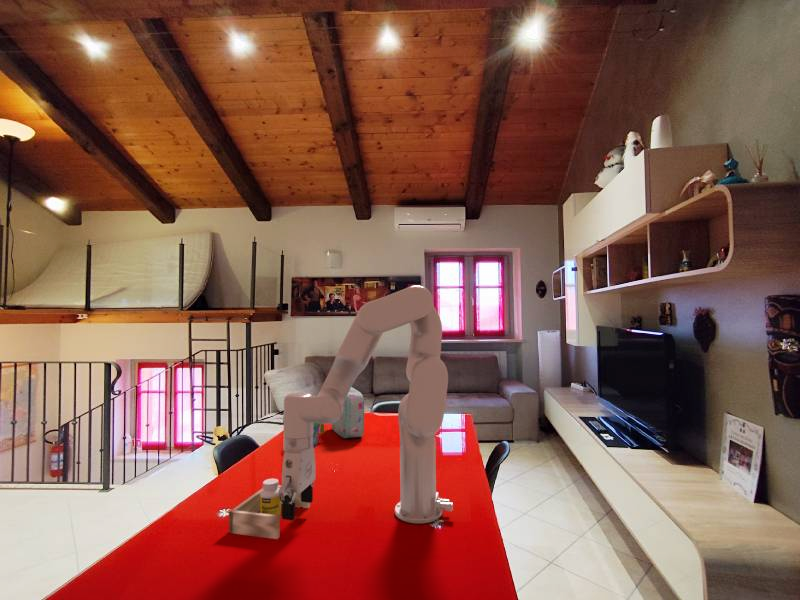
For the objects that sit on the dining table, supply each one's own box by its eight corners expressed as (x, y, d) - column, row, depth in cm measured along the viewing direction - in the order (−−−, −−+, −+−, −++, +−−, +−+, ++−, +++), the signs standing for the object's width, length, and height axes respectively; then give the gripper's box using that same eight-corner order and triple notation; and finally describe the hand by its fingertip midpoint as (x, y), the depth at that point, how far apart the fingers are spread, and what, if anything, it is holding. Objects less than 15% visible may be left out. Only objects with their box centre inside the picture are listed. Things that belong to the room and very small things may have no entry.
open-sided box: (309, 506, 111) (309, 488, 112) (277, 539, 95) (277, 517, 95) (267, 502, 115) (267, 484, 115) (229, 532, 98) (229, 511, 98)
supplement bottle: (258, 525, 102) (259, 486, 102) (260, 515, 107) (260, 478, 107) (280, 522, 103) (280, 483, 103) (281, 512, 108) (281, 476, 109)
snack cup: (317, 438, 176) (317, 415, 177) (331, 443, 169) (331, 419, 169) (284, 446, 165) (284, 421, 166) (297, 452, 158) (297, 426, 158)
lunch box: (327, 427, 194) (327, 383, 195) (348, 425, 199) (347, 381, 200) (343, 442, 170) (343, 391, 171) (366, 439, 174) (366, 389, 176)
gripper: (295, 453, 95) (294, 528, 94) (325, 433, 111) (325, 497, 111) (266, 451, 96) (266, 525, 96) (300, 432, 113) (300, 494, 112)
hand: (297, 510), depth 103 cm, fingers open, 9 cm apart
